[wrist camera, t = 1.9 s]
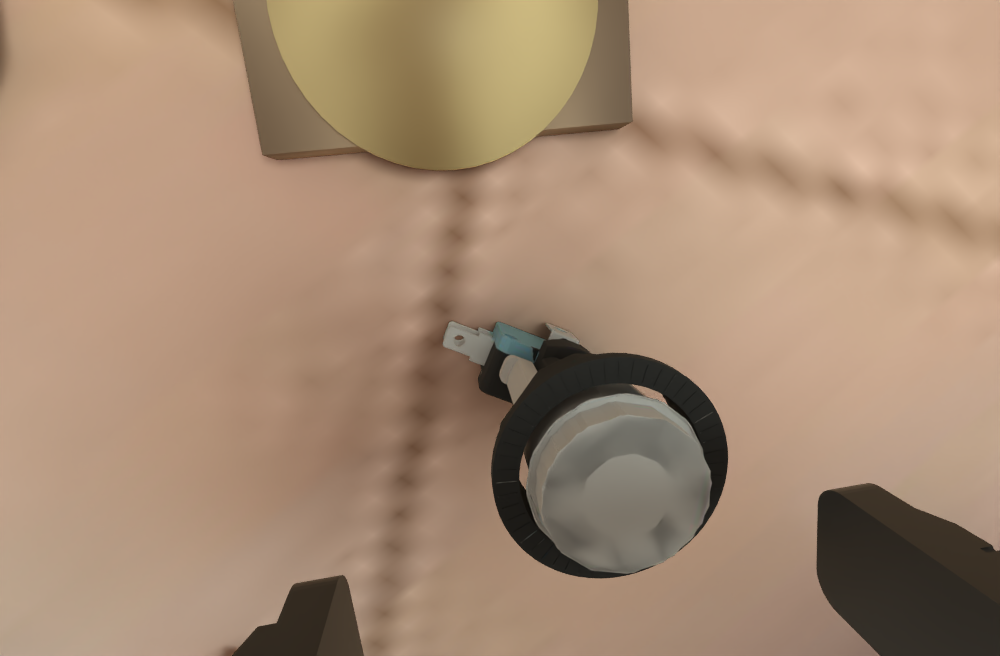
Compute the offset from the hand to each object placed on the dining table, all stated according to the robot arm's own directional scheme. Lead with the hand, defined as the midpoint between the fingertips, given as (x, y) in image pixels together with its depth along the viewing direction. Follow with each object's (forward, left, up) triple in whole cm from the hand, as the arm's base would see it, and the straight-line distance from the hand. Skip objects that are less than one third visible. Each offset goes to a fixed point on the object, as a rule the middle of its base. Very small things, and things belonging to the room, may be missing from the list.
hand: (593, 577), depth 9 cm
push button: (-1, -1, -12) cm, 12 cm away
